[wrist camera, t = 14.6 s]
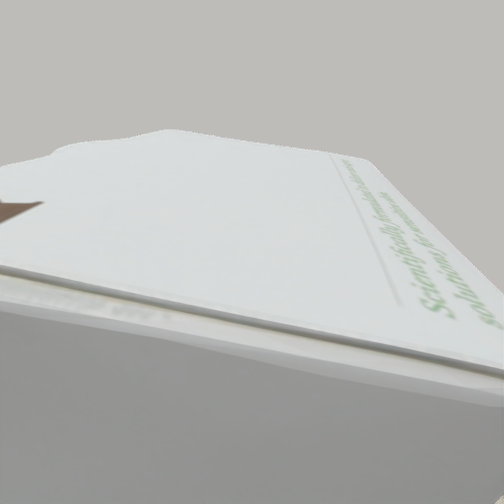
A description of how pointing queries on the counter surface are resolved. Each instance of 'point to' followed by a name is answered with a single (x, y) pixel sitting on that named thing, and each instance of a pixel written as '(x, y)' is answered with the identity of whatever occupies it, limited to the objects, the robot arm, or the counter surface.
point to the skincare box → (238, 332)
